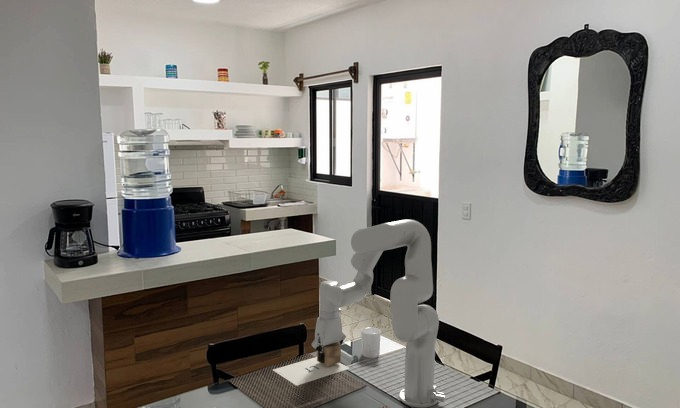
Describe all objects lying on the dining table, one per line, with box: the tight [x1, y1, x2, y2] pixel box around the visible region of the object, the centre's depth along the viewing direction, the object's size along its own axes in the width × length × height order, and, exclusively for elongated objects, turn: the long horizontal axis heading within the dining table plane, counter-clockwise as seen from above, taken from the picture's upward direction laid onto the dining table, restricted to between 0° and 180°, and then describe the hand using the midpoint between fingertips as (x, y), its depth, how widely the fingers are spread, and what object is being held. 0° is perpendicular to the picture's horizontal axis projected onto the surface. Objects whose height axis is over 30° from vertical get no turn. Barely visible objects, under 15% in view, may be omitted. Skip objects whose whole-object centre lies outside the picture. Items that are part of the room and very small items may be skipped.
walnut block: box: [316, 343, 342, 367], centre depth 199 cm, size 6×6×7 cm
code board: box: [272, 356, 350, 387], centre depth 194 cm, size 24×16×1 cm, turn 129°
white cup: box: [360, 326, 382, 359], centre depth 209 cm, size 8×8×10 cm
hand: (328, 359), depth 199 cm, fingers closed on walnut block, 6 cm apart
